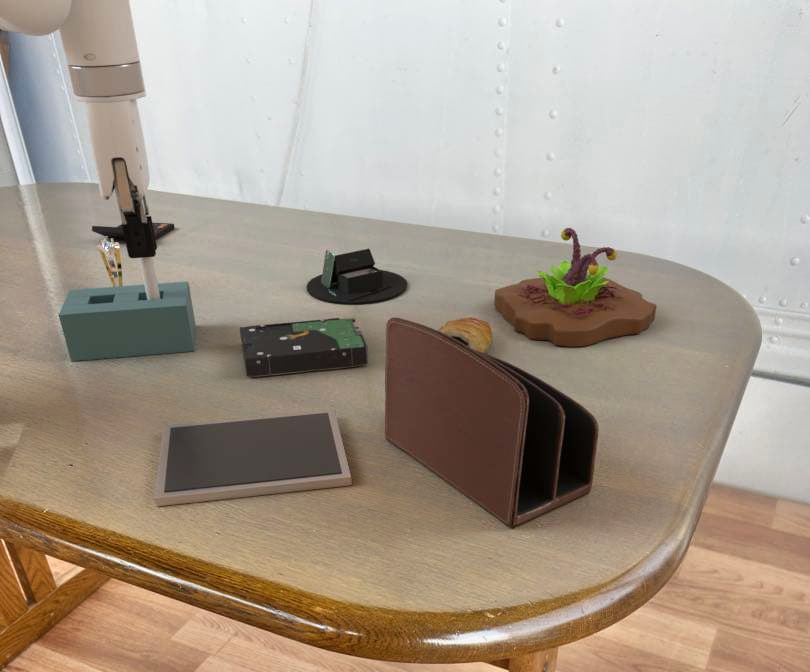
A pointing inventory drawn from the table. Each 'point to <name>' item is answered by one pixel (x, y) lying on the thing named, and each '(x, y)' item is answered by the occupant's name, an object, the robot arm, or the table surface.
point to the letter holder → (485, 424)
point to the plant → (574, 303)
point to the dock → (128, 321)
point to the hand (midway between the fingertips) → (143, 252)
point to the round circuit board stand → (355, 280)
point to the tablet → (251, 457)
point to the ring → (111, 260)
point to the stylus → (149, 278)
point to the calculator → (117, 231)
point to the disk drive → (302, 346)
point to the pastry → (470, 333)
